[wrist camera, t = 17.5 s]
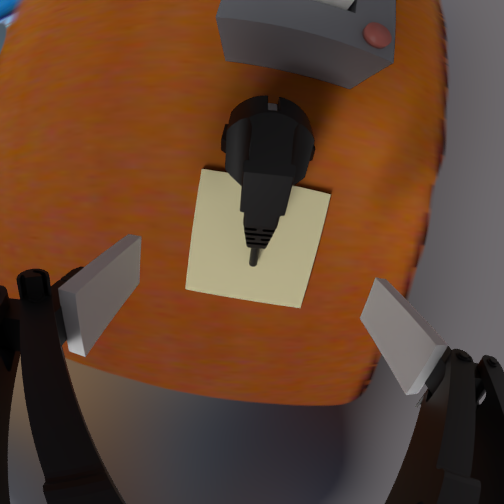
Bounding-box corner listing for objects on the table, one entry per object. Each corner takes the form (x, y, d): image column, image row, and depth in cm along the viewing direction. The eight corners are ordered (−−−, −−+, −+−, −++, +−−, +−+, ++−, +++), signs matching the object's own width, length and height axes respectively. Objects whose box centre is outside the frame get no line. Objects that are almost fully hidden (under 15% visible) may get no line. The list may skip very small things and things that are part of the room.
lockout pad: (202, 168, 20) (201, 168, 20) (329, 193, 21) (330, 194, 21) (186, 287, 23) (185, 289, 23) (299, 305, 24) (300, 307, 24)
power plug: (216, 268, 21) (214, 127, 12) (225, 200, 26) (231, 78, 16) (288, 274, 22) (334, 142, 12) (285, 206, 26) (312, 88, 16)
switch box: (250, -24, 14) (252, -80, 7) (360, 2, 15) (397, -40, 7) (225, 60, 18) (214, 12, 10) (349, 89, 18) (398, 60, 11)
